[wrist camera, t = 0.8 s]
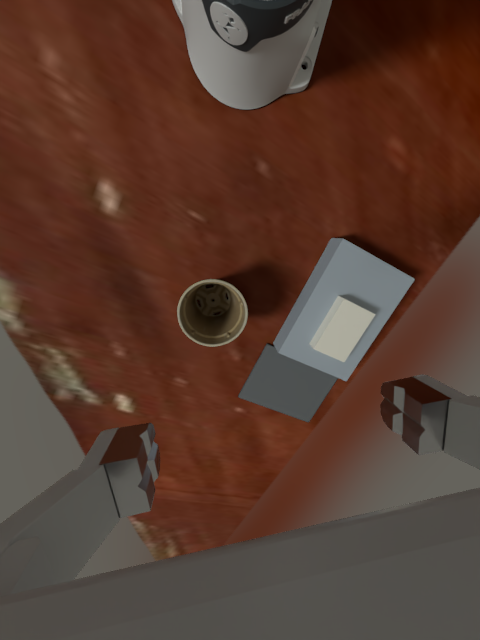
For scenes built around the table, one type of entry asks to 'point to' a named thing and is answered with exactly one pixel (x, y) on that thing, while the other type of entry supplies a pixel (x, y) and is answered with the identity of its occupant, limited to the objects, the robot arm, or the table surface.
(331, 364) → the plate
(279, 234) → the table surface
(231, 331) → the flower pot
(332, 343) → the cream flat block
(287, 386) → the mat
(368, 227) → the table surface
